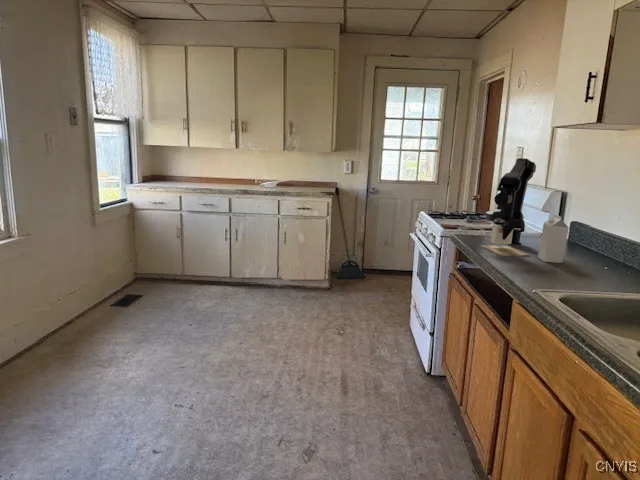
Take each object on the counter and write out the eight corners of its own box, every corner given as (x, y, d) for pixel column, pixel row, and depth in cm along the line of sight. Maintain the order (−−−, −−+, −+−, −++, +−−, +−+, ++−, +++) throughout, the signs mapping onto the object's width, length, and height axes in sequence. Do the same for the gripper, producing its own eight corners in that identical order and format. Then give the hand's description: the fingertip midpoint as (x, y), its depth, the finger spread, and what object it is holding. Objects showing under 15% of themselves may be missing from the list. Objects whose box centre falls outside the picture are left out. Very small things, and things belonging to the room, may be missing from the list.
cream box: (506, 242, 198) (509, 225, 196) (511, 244, 195) (513, 226, 193) (490, 241, 197) (493, 224, 195) (494, 243, 194) (497, 226, 192)
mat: (509, 247, 201) (509, 246, 201) (530, 256, 186) (530, 255, 186) (481, 246, 199) (481, 245, 199) (499, 255, 184) (499, 254, 184)
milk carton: (554, 259, 184) (562, 214, 180) (562, 263, 177) (570, 217, 173) (537, 257, 185) (545, 213, 180) (544, 262, 178) (552, 216, 173)
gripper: (479, 200, 200) (475, 233, 203) (501, 206, 182) (495, 243, 185) (502, 201, 201) (497, 234, 205) (525, 207, 183) (519, 243, 187)
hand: (501, 238), depth 195 cm, fingers closed on cream box, 3 cm apart
